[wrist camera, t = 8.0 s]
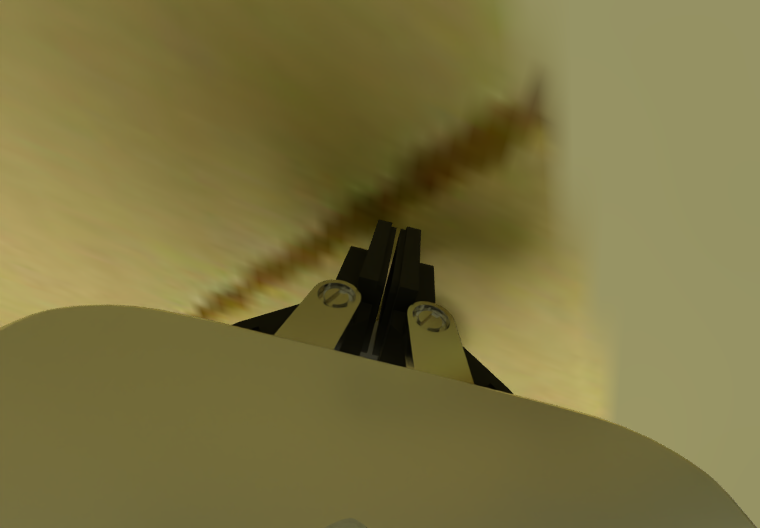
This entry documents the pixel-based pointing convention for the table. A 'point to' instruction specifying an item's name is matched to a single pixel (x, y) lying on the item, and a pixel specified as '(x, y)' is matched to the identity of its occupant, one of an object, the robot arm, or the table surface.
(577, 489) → the robot arm
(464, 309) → the table surface
